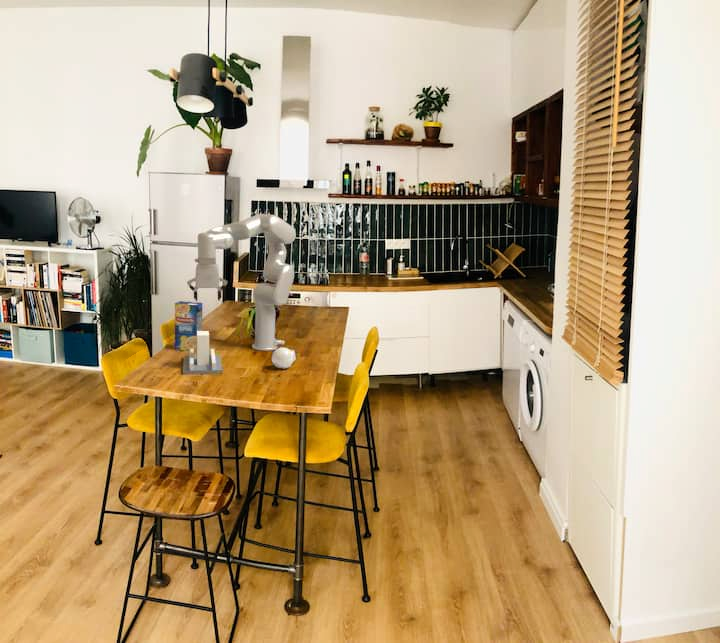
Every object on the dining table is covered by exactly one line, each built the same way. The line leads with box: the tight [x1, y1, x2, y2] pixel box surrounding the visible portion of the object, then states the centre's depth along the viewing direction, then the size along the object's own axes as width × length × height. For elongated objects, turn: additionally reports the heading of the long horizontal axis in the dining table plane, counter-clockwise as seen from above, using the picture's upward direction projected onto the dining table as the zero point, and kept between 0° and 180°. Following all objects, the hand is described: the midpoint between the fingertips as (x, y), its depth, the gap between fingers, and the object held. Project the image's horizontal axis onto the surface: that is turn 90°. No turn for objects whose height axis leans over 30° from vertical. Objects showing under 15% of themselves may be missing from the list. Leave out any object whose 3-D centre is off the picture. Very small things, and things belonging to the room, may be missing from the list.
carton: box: [195, 330, 210, 365], centre depth 307 cm, size 5×9×13 cm, turn 14°
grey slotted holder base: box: [182, 348, 224, 375], centre depth 308 cm, size 16×26×4 cm, turn 13°
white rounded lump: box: [271, 346, 298, 370], centre depth 312 cm, size 9×10×15 cm
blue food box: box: [174, 300, 203, 352], centre depth 336 cm, size 7×11×22 cm, turn 80°
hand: (207, 300), depth 312 cm, fingers open, 9 cm apart
